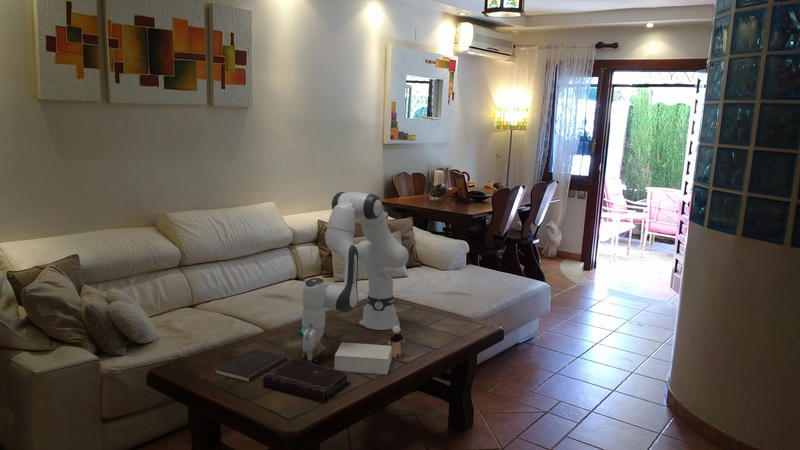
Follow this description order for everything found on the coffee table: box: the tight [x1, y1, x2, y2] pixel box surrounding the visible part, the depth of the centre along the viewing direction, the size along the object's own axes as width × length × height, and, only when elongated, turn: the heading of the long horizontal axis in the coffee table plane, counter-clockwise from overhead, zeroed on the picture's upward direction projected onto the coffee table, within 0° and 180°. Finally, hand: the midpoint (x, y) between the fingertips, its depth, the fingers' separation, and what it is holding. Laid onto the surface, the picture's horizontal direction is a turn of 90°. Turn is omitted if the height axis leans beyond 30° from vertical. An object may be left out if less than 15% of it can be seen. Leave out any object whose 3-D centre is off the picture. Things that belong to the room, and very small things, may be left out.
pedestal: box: [333, 341, 393, 375], centre depth 239 cm, size 14×20×6 cm
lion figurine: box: [299, 340, 325, 363], centre depth 243 cm, size 15×5×9 cm, turn 40°
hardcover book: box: [213, 348, 288, 383], centre depth 234 cm, size 16×23×2 cm
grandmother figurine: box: [387, 325, 406, 358], centre depth 250 cm, size 8×4×13 cm, turn 135°
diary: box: [262, 357, 352, 403], centre depth 220 cm, size 19×25×5 cm
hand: (313, 354), depth 242 cm, fingers open, 8 cm apart
